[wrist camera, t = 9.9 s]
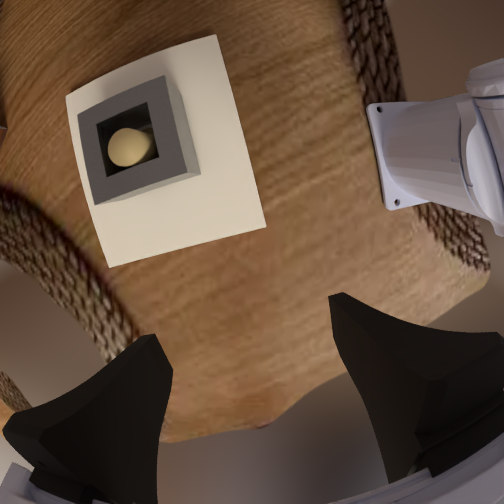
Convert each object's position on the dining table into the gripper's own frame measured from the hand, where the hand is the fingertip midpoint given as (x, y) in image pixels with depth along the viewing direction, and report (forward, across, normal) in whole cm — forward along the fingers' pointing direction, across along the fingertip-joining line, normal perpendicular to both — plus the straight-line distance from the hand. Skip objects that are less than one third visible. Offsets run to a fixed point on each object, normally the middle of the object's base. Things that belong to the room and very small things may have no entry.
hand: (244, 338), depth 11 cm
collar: (+9, +4, -9) cm, 13 cm away
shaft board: (+10, +4, -9) cm, 14 cm away
